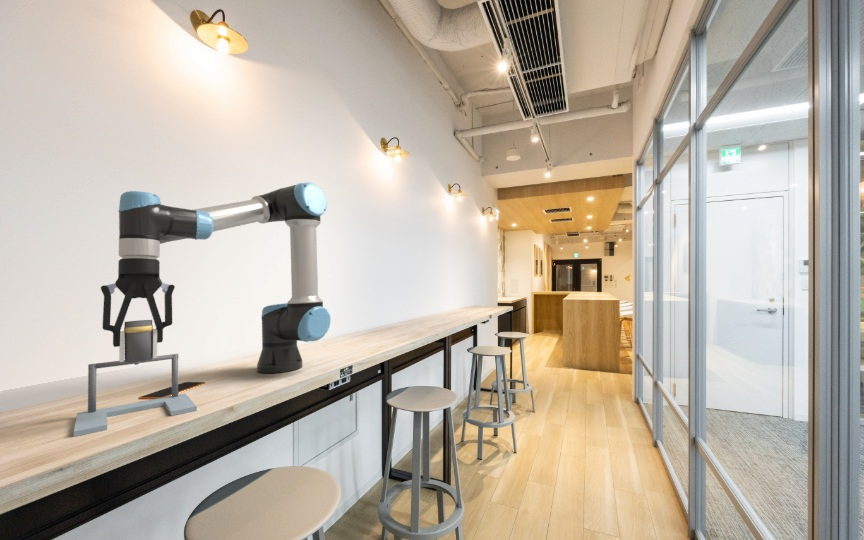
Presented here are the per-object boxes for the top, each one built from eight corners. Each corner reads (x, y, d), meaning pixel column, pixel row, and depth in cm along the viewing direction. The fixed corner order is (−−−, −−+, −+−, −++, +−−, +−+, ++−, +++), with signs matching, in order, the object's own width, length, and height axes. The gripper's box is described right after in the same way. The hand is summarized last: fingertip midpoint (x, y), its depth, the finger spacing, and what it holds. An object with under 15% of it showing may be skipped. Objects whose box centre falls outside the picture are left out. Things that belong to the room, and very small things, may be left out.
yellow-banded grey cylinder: (154, 359, 84) (153, 320, 85) (124, 363, 81) (124, 322, 81) (152, 356, 88) (151, 319, 89) (123, 360, 85) (123, 321, 85)
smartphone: (207, 384, 114) (207, 381, 114) (162, 400, 98) (162, 397, 98) (184, 384, 115) (184, 381, 115) (136, 400, 99) (136, 397, 99)
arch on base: (185, 397, 99) (185, 352, 100) (196, 410, 87) (196, 359, 88) (77, 417, 85) (77, 364, 86) (73, 436, 73) (74, 375, 74)
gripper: (183, 261, 94) (182, 351, 93) (86, 258, 82) (84, 363, 81) (188, 258, 89) (188, 355, 88) (85, 255, 77) (83, 367, 75)
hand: (138, 358), depth 84 cm, fingers closed on yellow-banded grey cylinder, 5 cm apart
